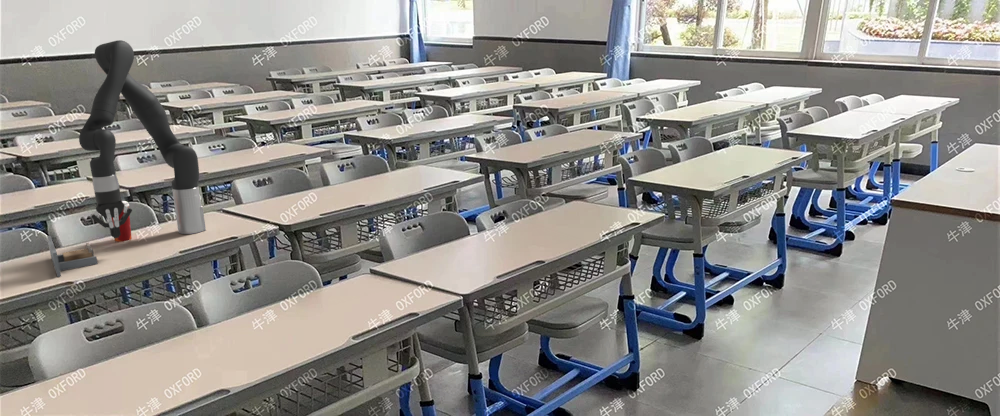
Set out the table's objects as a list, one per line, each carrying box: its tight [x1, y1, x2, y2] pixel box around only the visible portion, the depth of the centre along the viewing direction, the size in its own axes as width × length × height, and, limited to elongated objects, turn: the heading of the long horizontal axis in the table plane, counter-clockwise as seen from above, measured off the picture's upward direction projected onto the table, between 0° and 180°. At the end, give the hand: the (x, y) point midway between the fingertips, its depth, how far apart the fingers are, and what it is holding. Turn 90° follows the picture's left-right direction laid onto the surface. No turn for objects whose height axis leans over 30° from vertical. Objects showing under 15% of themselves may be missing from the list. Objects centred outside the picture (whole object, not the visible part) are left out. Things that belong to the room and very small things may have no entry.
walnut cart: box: [62, 242, 94, 262], centre depth 237 cm, size 8×6×6 cm
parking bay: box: [46, 235, 98, 278], centre depth 235 cm, size 12×24×8 cm, turn 36°
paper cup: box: [112, 200, 132, 243], centre depth 261 cm, size 8×8×14 cm
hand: (116, 237), depth 242 cm, fingers closed
